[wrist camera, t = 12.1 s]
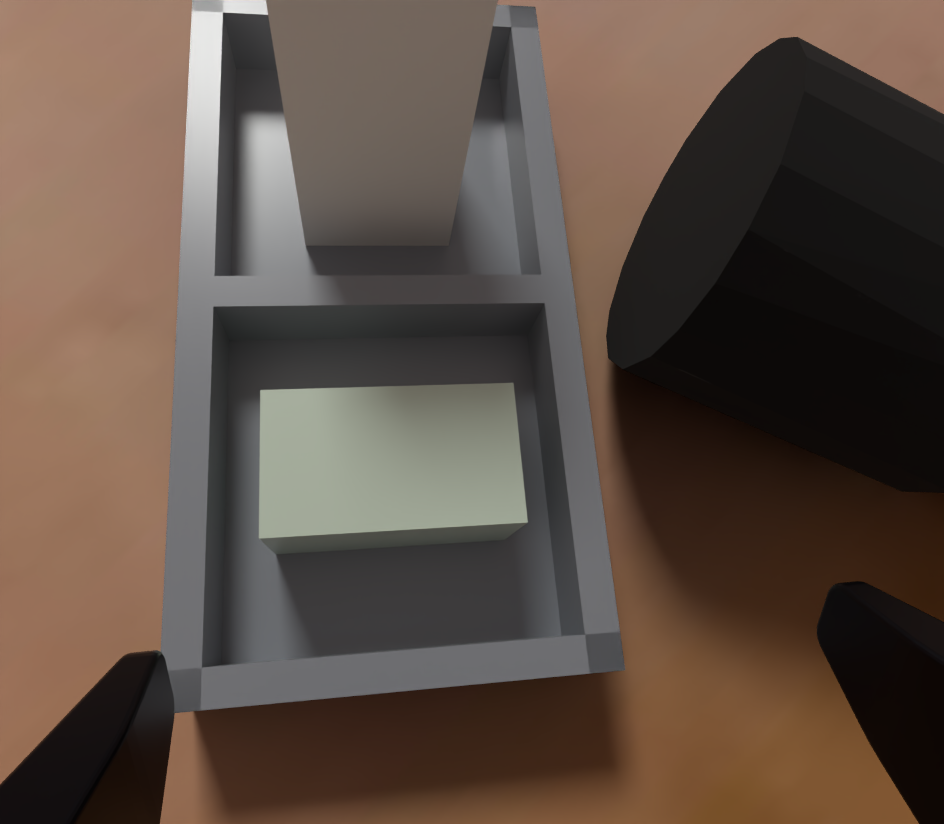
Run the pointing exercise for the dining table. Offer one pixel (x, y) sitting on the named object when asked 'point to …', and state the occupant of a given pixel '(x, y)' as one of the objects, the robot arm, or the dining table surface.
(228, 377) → the tray
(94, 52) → the dining table surface
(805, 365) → the black and white bottle
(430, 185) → the cream block
